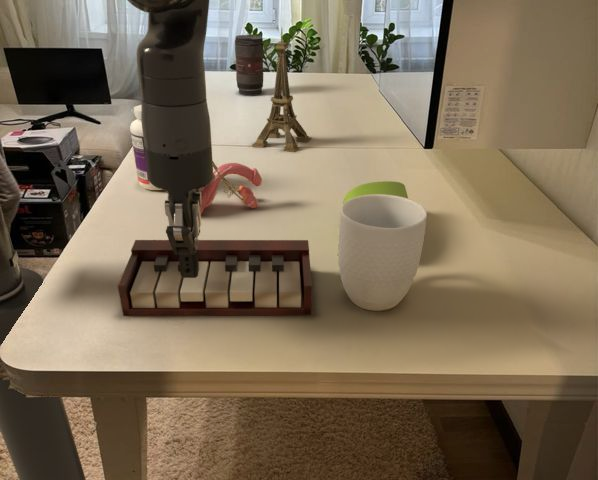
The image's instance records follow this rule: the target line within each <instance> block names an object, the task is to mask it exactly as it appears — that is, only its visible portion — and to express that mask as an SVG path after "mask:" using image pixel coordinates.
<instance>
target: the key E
mask: <svg viewBox="0 0 598 480" xmlns="http://www.w3.org/2000/svg"><path fill="white" fill-rule="evenodd" d="M198 263H199V272H198V276H197V277H196V278H184V279H183V283H182V287H181V291H180V297H181V301H203V300H204V295H205V289H206V284H207V279H208V274H209V262H208V261H198Z"/></svg>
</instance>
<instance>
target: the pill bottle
mask: <svg viewBox="0 0 598 480" xmlns="http://www.w3.org/2000/svg"><path fill="white" fill-rule="evenodd" d="M141 110H142V106H141V104H138V105H136V106H134V108H133V111H134V116H135V118H136V119H134V120H133V121H132V122H131V124H130V127H129V130H130V137H131V143H132V149H133V155H134V156H133V157H134V163H135V169H136V175H137V181H138V184H139V185H140V187H142V188H144V189H145V190H150V191H164V190H163V189H159V188H157V187H155V186H153V185H152V184H151V183H150V181H149V178H148V171H147V163H146V154H145V146H144V138H143V131H142V121H141Z"/></svg>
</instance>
